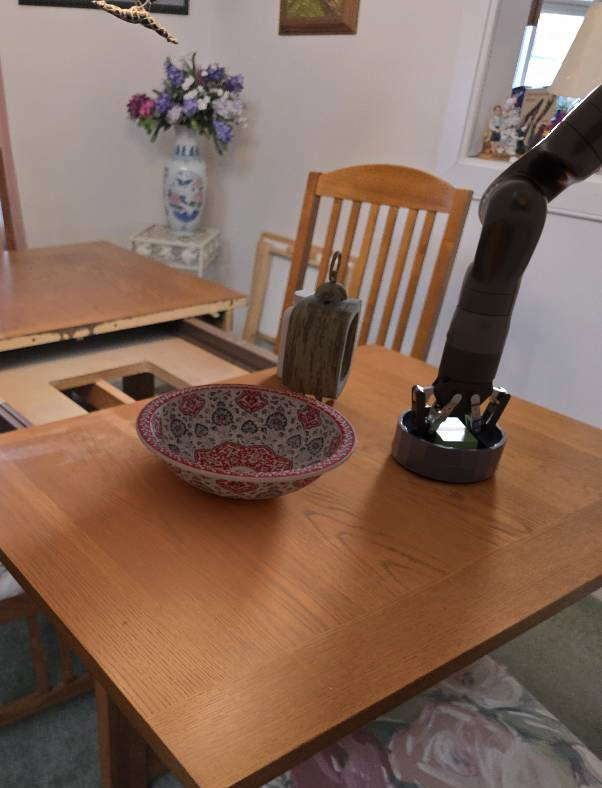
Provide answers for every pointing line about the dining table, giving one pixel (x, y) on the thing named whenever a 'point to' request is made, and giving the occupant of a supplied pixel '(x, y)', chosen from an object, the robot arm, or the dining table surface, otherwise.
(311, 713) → the dining table surface
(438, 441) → the block
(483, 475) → the bowl
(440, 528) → the dining table surface
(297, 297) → the pill bottle
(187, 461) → the ceramic bowl
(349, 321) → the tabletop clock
